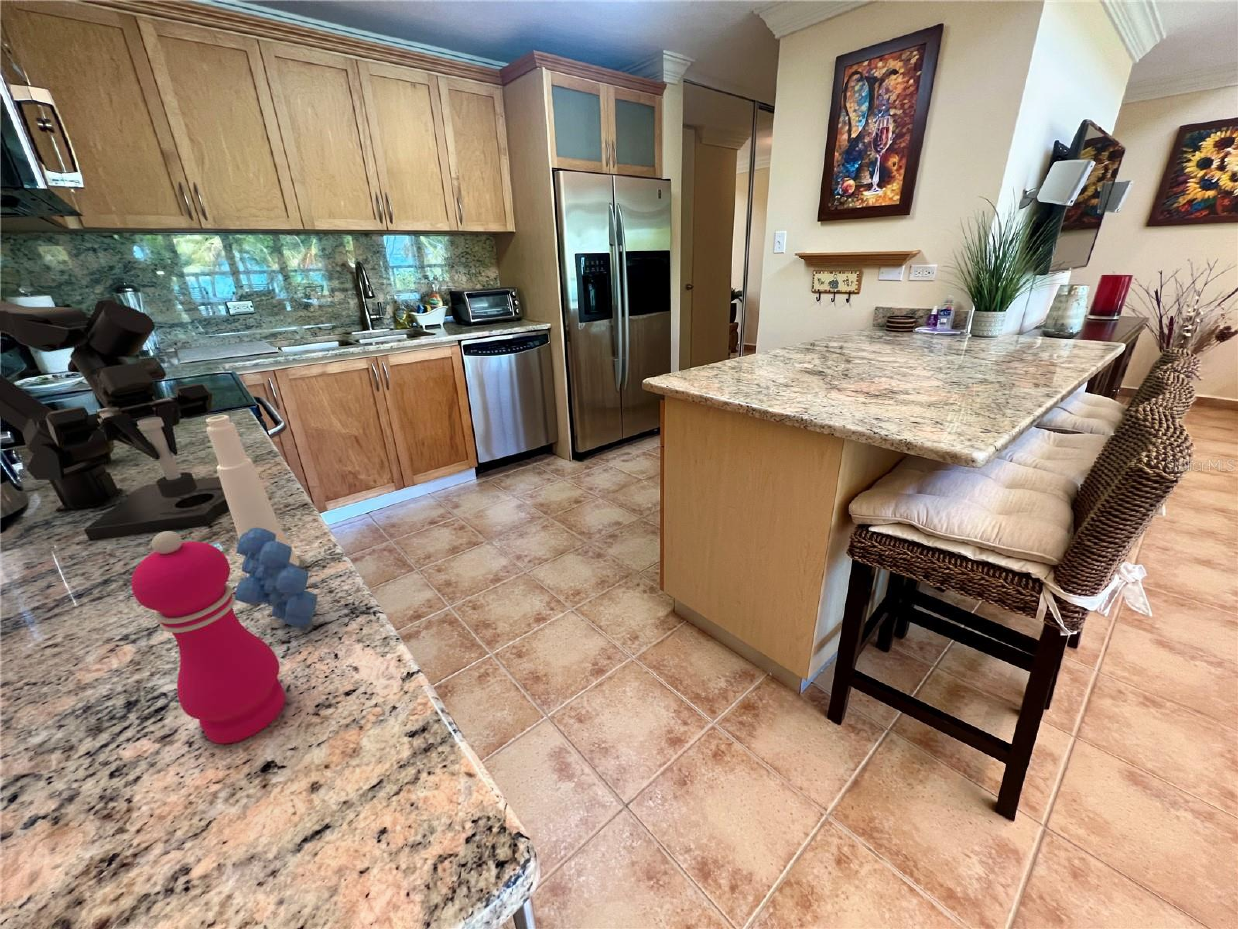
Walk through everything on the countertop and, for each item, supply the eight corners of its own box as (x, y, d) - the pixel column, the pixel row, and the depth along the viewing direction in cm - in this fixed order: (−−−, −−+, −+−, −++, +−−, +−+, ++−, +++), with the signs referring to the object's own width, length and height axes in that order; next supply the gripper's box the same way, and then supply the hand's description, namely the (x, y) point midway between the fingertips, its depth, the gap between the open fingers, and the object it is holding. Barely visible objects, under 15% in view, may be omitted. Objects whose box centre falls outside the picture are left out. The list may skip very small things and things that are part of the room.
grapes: (228, 623, 58) (189, 536, 53) (288, 591, 63) (258, 509, 58) (278, 662, 52) (240, 568, 47) (340, 623, 58) (311, 535, 53)
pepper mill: (231, 686, 50) (149, 512, 41) (306, 680, 50) (239, 507, 42) (179, 753, 43) (69, 563, 35) (265, 746, 43) (177, 556, 35)
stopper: (156, 499, 77) (122, 425, 72) (172, 487, 81) (141, 416, 76) (188, 496, 78) (157, 423, 73) (202, 484, 82) (174, 414, 77)
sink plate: (89, 540, 76) (83, 529, 75) (151, 494, 90) (146, 484, 89) (215, 524, 79) (211, 513, 79) (255, 482, 94) (252, 472, 93)
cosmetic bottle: (236, 579, 66) (172, 423, 57) (279, 554, 71) (225, 408, 62) (269, 588, 64) (207, 428, 55) (310, 562, 69) (259, 412, 60)
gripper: (12, 354, 65) (77, 448, 64) (185, 333, 79) (240, 409, 78) (28, 404, 72) (86, 489, 71) (184, 376, 86) (234, 446, 85)
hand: (167, 455), depth 76 cm, fingers closed on stopper, 2 cm apart
